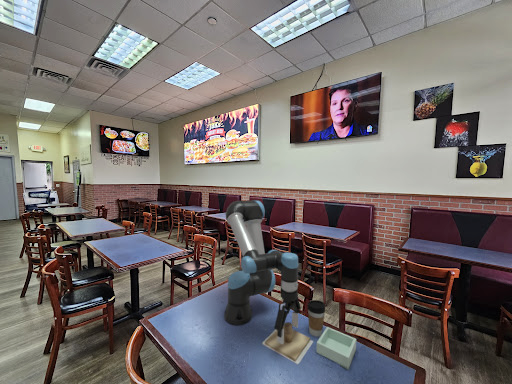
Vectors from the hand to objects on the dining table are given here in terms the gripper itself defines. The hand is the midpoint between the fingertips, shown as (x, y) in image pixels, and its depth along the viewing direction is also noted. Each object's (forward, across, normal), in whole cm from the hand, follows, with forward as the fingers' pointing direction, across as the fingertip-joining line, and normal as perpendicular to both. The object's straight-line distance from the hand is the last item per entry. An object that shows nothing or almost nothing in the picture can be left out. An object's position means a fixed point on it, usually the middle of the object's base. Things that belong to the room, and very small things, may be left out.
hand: (288, 334), depth 98 cm
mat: (+4, 0, 0) cm, 4 cm away
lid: (+4, 0, 0) cm, 4 cm away
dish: (+4, +9, -19) cm, 22 cm away
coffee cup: (+5, +14, -7) cm, 17 cm away
